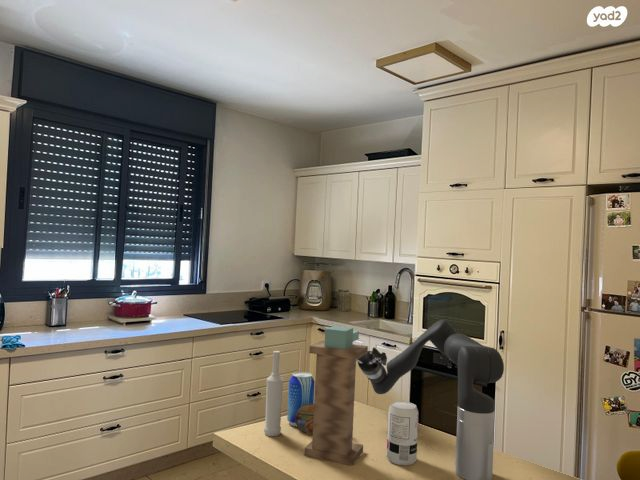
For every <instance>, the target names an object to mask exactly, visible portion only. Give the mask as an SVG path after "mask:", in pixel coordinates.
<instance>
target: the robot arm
mask: <svg viewBox="0 0 640 480" xmlns="http://www.w3.org/2000/svg"><path fill="white" fill-rule="evenodd" d="M428 342H431V344H432V345H433V346H434V347H435V348H436V349H437V350H438V351H439V352H440V353H441V354H442V355H444V356H446V357H447V358H448V359H449V360H450V361H451V362H452V363H453V364H455V365H457V410H456V411H457V413H456V414H457V415H456V416H457V418H456V436H455V437H456V441H455V443H456V444H455V463H454V465H455V467H454V471H455V474H456V475H457V476H458V477H460V478H461V479H464V480H493V473H494V472H493V469H494V467H493V465H494V436H495V435H494V433H495V432H494V431H495V409H496V407H495V405H496V404H495V400H494V398H492V397H491V396H489V395H488V394H485V393H483V392H481V391H478V390H477V389H475V388H474V384H473V383H484V384H494V383H496V382H498V381H500V380H501V378H502V377H503V375H504V372H505V364H504V359H503V357H502V355H501V354H500V352H499V351H498V350H497V349H496V348H494V347H491V346H487V345H483V344H481V343H480V342H478V341H476V340H474V339H472V338H471V337H469V336H468V335H466V334H463V333H459V332H458V331H457V330H456V328H454V327H453V326H452V324H451V323H450V322H449V321H448V320H447V319H440V320H438V321H436V322H434V323H433V324H432V325H431V326H430V327H428V328H427V329H426V330H425V331H424V332H423V333H422V334H420V335H419V336H418V337H417V338H416V339H415V340H414V341H413V342H412V343H411V344H410V345H409V346H408V347H407V348H405V349H404V350H403V351H401V352H400V353H399V354H398V355H396V356H395V357H393V358H391V359H390V360H389V361H388V357H387V354H386V353H385V352H380V351H379V350H378V349H377V348H376V347H374V346H373V347H372V349H371V350H368V353H367V354H365V355H364V356H362V357H361V358H359V359H356V363H357V365H358V367H359V369H360V370H361V371H362V373H363V374H364V375H365V377H366V378H367V379H368V381H370V383H371V386H372V389H373V391H374V393H376V394H377V395H385V394H387V393H388V392H389V391H390V390H392V388H393V387H394V386H395V385H396V383H397V382H398V381H399V379H400V378H401V377H403V376H405V375H406V374H409V372H410V371H412V370H413V369H414V368H415V366H416V365H417V363H418V361H419V358H420V355H421V352H422V350H423V348H424V346H425V345H426V344H427V343H428ZM387 361H388V362H387ZM385 366H386V368H385Z"/></svg>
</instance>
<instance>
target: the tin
mask: <svg viewBox="0 0 640 480" xmlns="http://www.w3.org/2000/svg"><path fill="white" fill-rule="evenodd" d="M313 416H314V404H305V405H303V406H301V407H300V408H299V409H298V411H297V412H296V415H295V422H296V425H297V426H298V427H297V428H298V429H299V430H301V432H304V433H307V432H308V433H309V434H310V433H311V434H313Z"/></svg>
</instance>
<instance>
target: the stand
mask: <svg viewBox="0 0 640 480" xmlns="http://www.w3.org/2000/svg"><path fill="white" fill-rule="evenodd" d="M324 344H325V340H321V341H318V342H315V343H314V344H311V345H309V351H308V352H309V353H308V354H314V355H316V357H315V358H316V361H315V379H314V382H315V384H314V416H313V433H312V436H311V437H312V438H311V441H310V442H309V443H308V444H307V445H306V446H305V447H304V451H303V452H304V453H303V455H304V456H306V457H310V458H315V459H319V460H325V461H329V462H333V463H338V464H343V465H346V466H351V467H353V466H354V465H355V464H356V462H357V461H358V459H359V458H360V457H361V455H362V454H363V452H364V444H361V443H356V442H353V436H354V435H353V432H354V415H355V414H354V411H355V410H354V409H355V392H356V391H355V390H356V369H357V368H356V367H357V365H356V364H357V361H356V359H359V358H361V357H362V356H364V355H365V354H367V353H368V351H369V346H368V345H360V344H354V343H353V346H351V347H349V348H347V349H337V348H329V347H324Z"/></svg>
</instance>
